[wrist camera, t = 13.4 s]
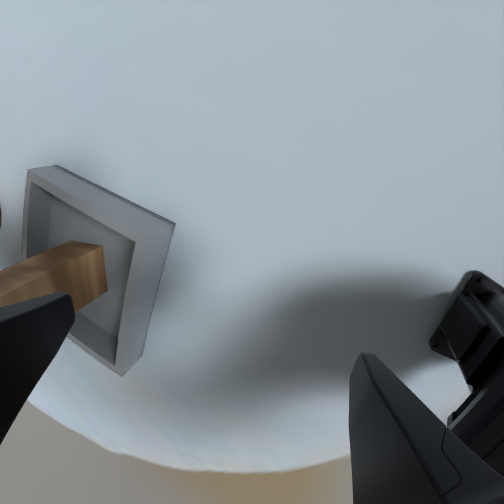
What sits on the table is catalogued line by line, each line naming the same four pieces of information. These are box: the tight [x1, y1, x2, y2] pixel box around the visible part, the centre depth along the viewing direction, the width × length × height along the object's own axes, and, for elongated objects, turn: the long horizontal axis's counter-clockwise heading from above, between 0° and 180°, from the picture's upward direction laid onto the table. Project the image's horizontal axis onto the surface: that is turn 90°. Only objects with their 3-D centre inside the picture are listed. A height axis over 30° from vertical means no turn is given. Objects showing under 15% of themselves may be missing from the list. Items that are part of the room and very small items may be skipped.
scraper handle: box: [0, 240, 108, 312], centre depth 18 cm, size 4×4×13 cm
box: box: [22, 165, 176, 377], centre depth 23 cm, size 14×14×4 cm
